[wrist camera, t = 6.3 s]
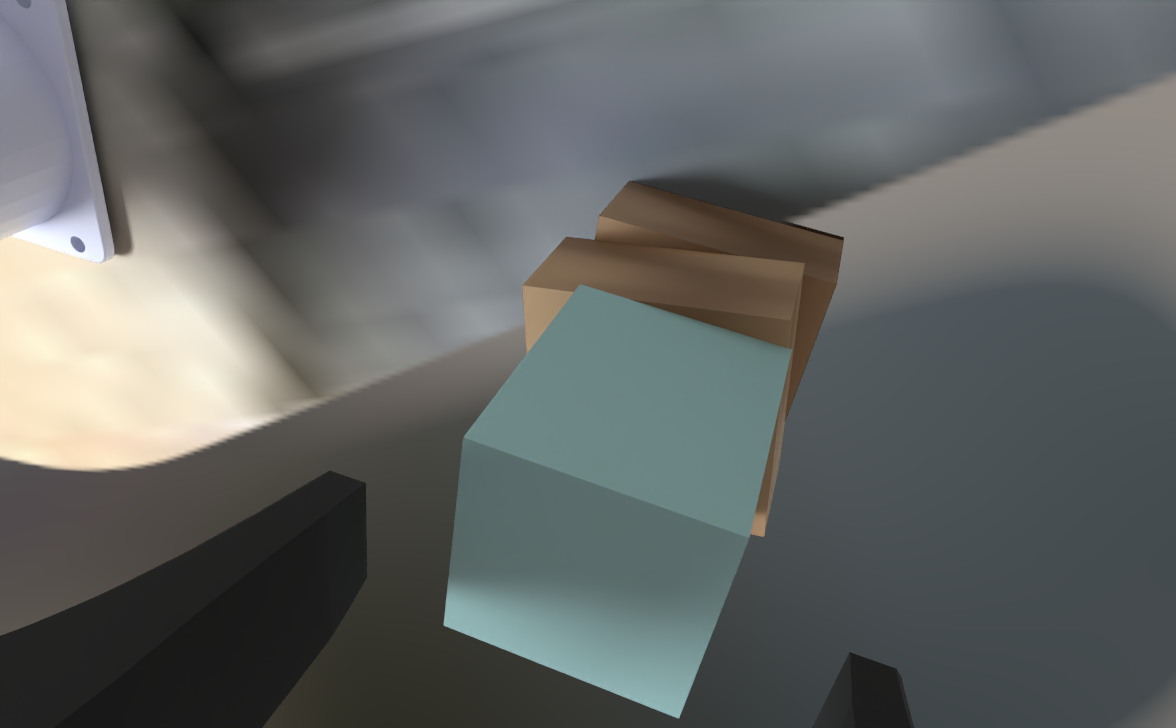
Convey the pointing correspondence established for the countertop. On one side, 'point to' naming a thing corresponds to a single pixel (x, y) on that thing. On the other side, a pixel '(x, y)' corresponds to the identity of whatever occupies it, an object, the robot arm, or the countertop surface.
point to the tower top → (680, 302)
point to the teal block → (614, 494)
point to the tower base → (731, 248)
